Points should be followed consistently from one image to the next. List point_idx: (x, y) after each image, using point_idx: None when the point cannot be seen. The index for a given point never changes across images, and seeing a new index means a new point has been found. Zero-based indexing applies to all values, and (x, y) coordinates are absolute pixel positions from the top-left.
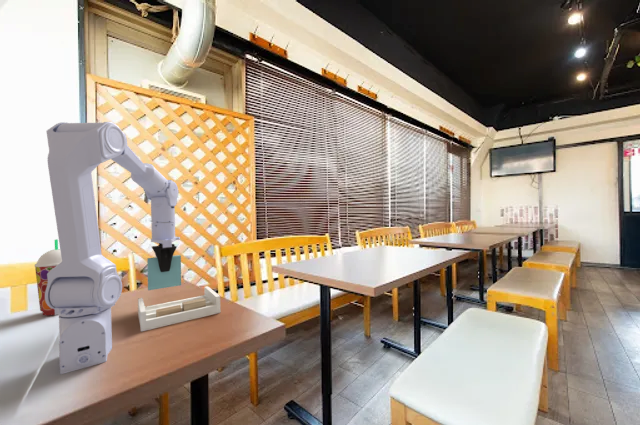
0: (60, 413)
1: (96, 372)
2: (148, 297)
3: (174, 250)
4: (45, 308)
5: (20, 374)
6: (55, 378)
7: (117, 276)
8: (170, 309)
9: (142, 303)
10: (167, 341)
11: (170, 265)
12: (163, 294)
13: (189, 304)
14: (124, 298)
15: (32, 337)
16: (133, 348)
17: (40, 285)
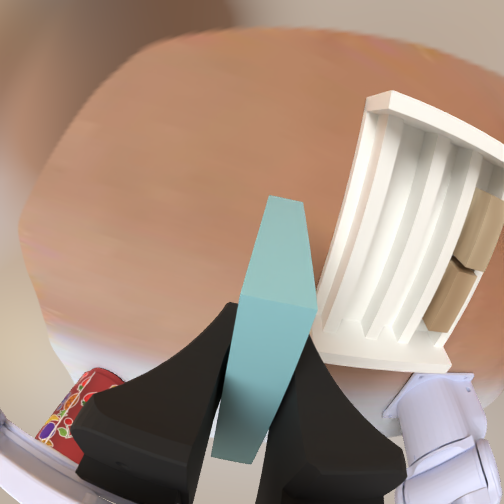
0: (495, 397)
1: None
2: (97, 232)
3: (386, 442)
4: None
5: (386, 432)
6: None
7: (498, 477)
8: (463, 303)
9: (382, 362)
10: (495, 307)
11: (311, 340)
12: (92, 183)
13: (489, 254)
14: (71, 281)
15: None
16: (462, 351)
17: None
